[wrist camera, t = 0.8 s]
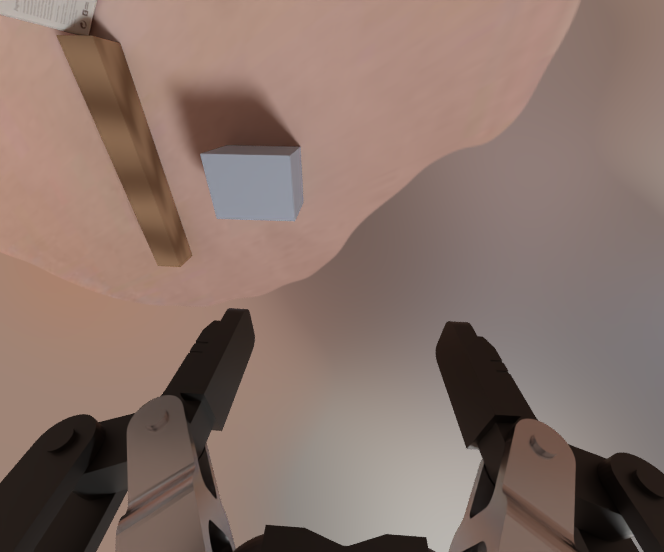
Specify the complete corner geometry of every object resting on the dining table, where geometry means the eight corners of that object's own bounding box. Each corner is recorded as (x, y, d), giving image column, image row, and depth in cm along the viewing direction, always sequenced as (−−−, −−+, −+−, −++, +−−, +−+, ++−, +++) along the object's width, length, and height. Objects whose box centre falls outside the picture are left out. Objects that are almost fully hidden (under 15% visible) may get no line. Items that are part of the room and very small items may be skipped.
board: (88, 43, 23) (56, 35, 20) (120, 43, 23) (92, 35, 20) (171, 254, 35) (157, 265, 33) (192, 255, 35) (180, 266, 32)
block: (227, 145, 27) (199, 153, 22) (300, 146, 27) (289, 155, 22) (238, 200, 30) (216, 218, 25) (303, 202, 30) (294, 221, 25)
